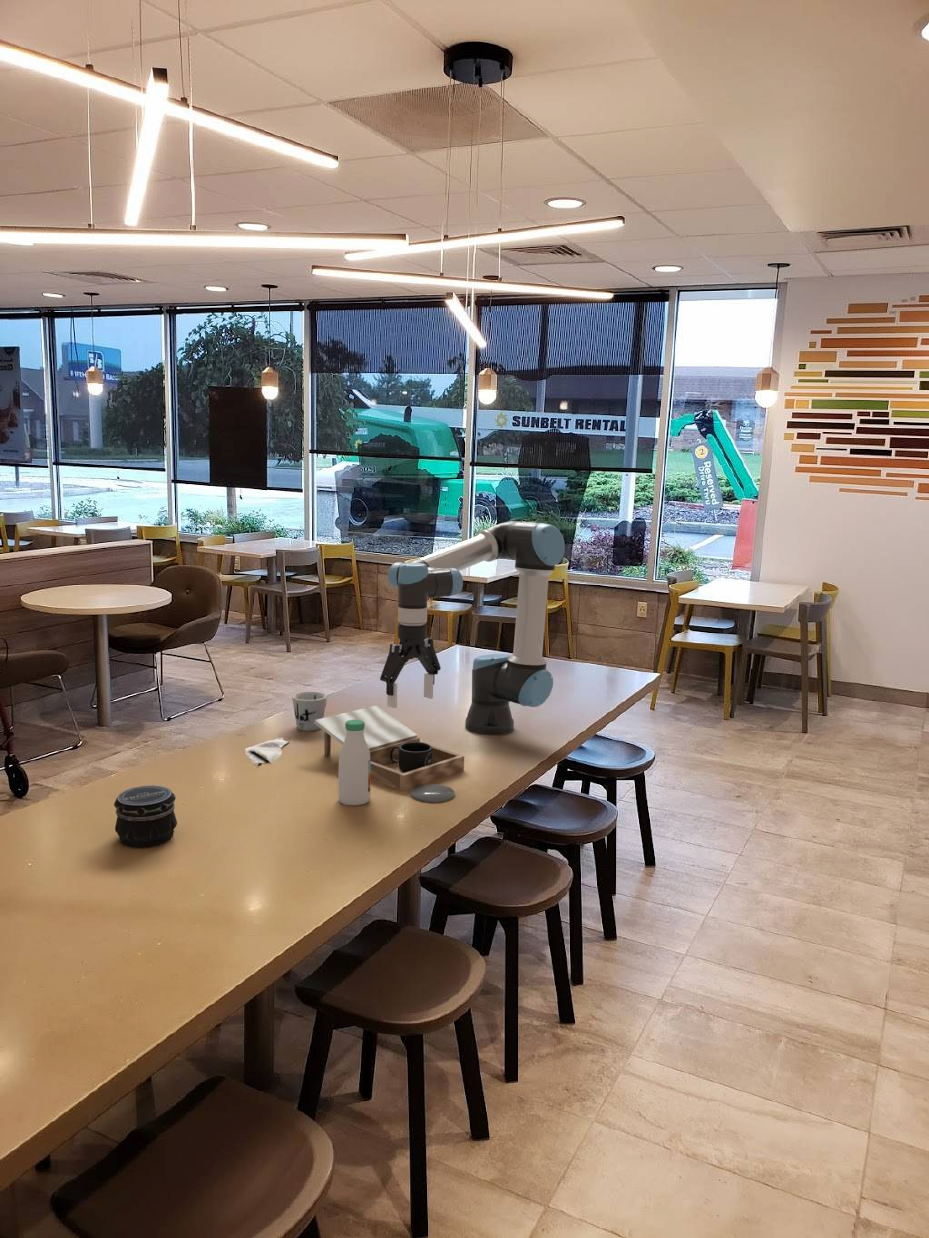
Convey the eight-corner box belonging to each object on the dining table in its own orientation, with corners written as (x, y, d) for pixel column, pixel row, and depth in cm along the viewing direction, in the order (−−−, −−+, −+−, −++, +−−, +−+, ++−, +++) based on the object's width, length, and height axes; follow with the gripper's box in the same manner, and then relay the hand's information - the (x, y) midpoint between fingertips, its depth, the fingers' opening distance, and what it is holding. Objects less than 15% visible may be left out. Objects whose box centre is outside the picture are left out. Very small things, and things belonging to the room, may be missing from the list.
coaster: (432, 783, 240) (432, 781, 240) (463, 794, 233) (463, 792, 233) (401, 793, 232) (401, 791, 232) (432, 806, 225) (432, 803, 225)
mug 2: (437, 769, 251) (438, 744, 250) (423, 780, 243) (424, 754, 241) (397, 763, 255) (397, 738, 254) (382, 773, 247) (382, 747, 246)
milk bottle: (364, 808, 223) (365, 727, 219) (334, 804, 224) (334, 724, 221) (374, 796, 230) (375, 718, 227) (344, 793, 232) (344, 716, 228)
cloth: (266, 737, 276) (266, 730, 275) (309, 743, 272) (309, 735, 272) (221, 765, 251) (220, 757, 251) (267, 771, 248) (267, 763, 247)
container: (142, 855, 194) (140, 810, 192) (102, 840, 201) (100, 796, 199) (189, 835, 205) (188, 792, 203) (150, 821, 211) (149, 779, 209)
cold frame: (374, 739, 275) (375, 705, 273) (463, 770, 251) (464, 733, 249) (314, 756, 259) (314, 719, 257) (403, 790, 235) (403, 750, 233)
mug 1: (285, 729, 282) (285, 697, 280) (311, 717, 296) (311, 686, 294) (315, 734, 278) (315, 702, 276) (340, 721, 292) (340, 690, 290)
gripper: (434, 615, 253) (432, 691, 257) (366, 626, 234) (365, 708, 238) (455, 619, 248) (452, 696, 252) (387, 631, 229) (386, 714, 233)
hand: (410, 702), depth 245 cm, fingers open, 13 cm apart
